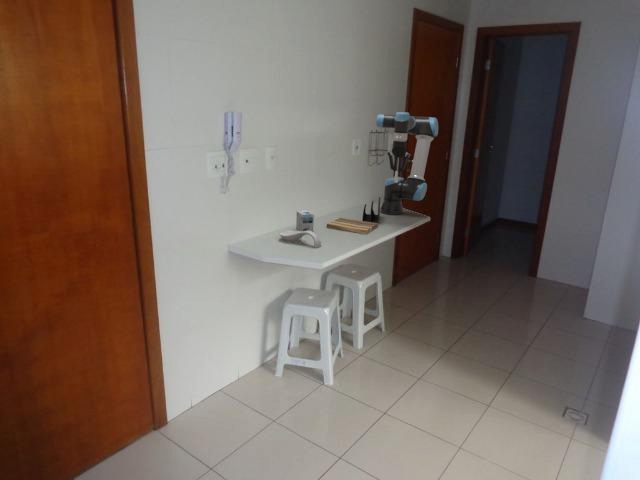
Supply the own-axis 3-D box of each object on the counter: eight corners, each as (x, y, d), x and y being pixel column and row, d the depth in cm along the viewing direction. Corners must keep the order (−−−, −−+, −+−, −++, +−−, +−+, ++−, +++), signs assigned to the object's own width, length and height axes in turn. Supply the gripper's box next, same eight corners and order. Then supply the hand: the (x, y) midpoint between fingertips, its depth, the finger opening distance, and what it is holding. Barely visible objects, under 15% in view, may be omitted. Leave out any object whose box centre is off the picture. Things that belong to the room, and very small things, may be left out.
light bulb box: (313, 233, 255) (314, 214, 252) (301, 234, 252) (302, 214, 249) (306, 228, 264) (307, 209, 261) (295, 228, 262) (296, 210, 259)
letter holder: (379, 216, 300) (381, 195, 296) (378, 224, 281) (380, 201, 277) (363, 215, 301) (365, 194, 297) (361, 223, 282) (363, 200, 278)
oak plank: (333, 224, 276) (334, 220, 275) (372, 230, 266) (372, 227, 265) (326, 227, 267) (326, 223, 267) (365, 234, 257) (366, 230, 257)
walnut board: (340, 220, 285) (340, 217, 284) (377, 226, 275) (378, 223, 274) (334, 223, 277) (334, 220, 276) (372, 230, 267) (372, 226, 266)
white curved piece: (274, 240, 240) (275, 226, 238) (289, 235, 249) (290, 222, 247) (311, 250, 226) (312, 236, 224) (325, 245, 235) (326, 231, 233)
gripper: (386, 140, 262) (383, 181, 268) (409, 141, 256) (405, 184, 263) (391, 139, 268) (387, 180, 275) (413, 141, 263) (409, 182, 269)
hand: (396, 182), depth 269 cm, fingers closed
